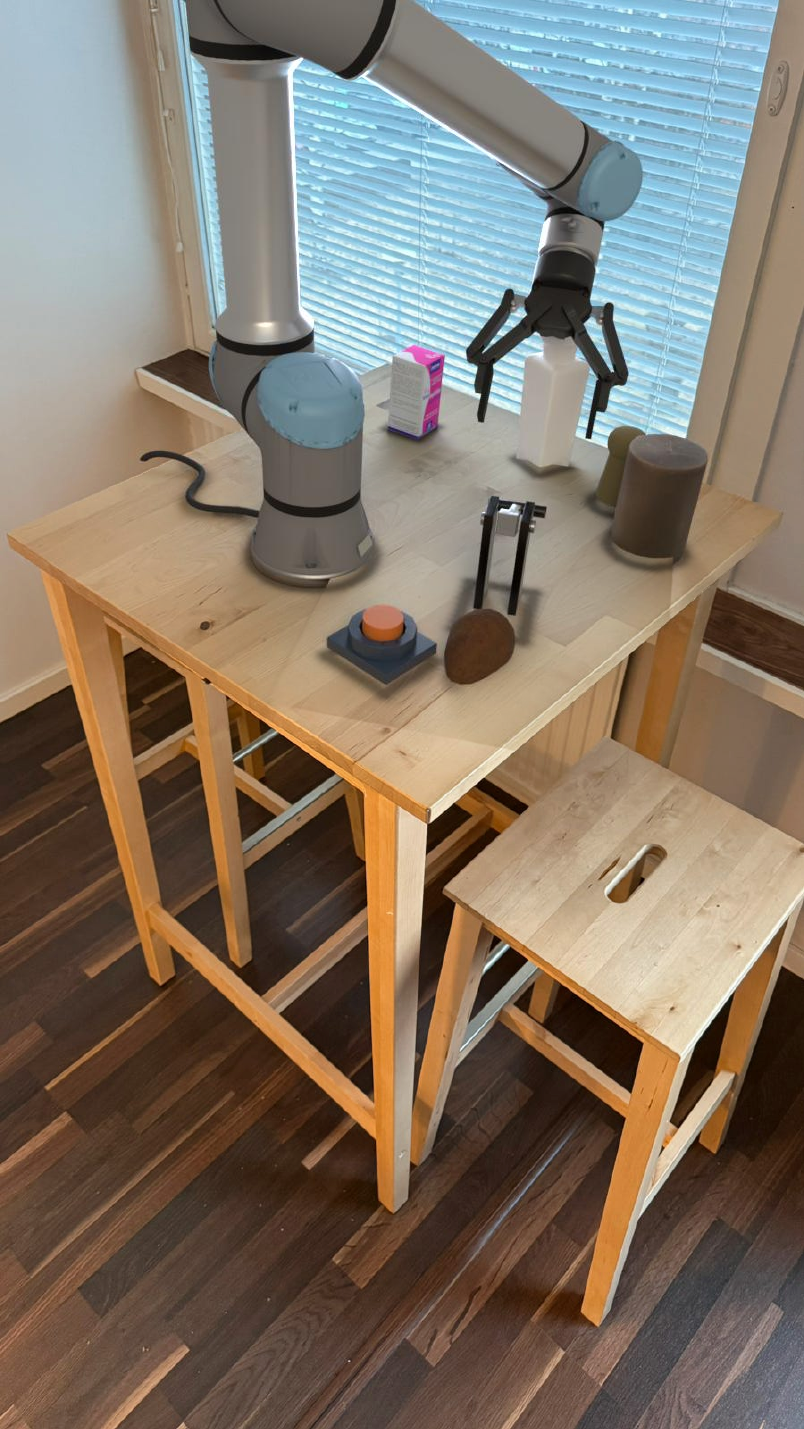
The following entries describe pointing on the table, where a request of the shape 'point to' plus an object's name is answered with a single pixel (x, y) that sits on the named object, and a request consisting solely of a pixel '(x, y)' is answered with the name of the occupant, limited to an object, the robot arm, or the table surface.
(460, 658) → the potato
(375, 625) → the button
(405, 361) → the supplement box
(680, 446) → the pillar candle
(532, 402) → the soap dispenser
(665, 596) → the table surface
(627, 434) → the olive pawn
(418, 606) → the table surface
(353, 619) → the button block
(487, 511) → the lever bracket
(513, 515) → the lever
